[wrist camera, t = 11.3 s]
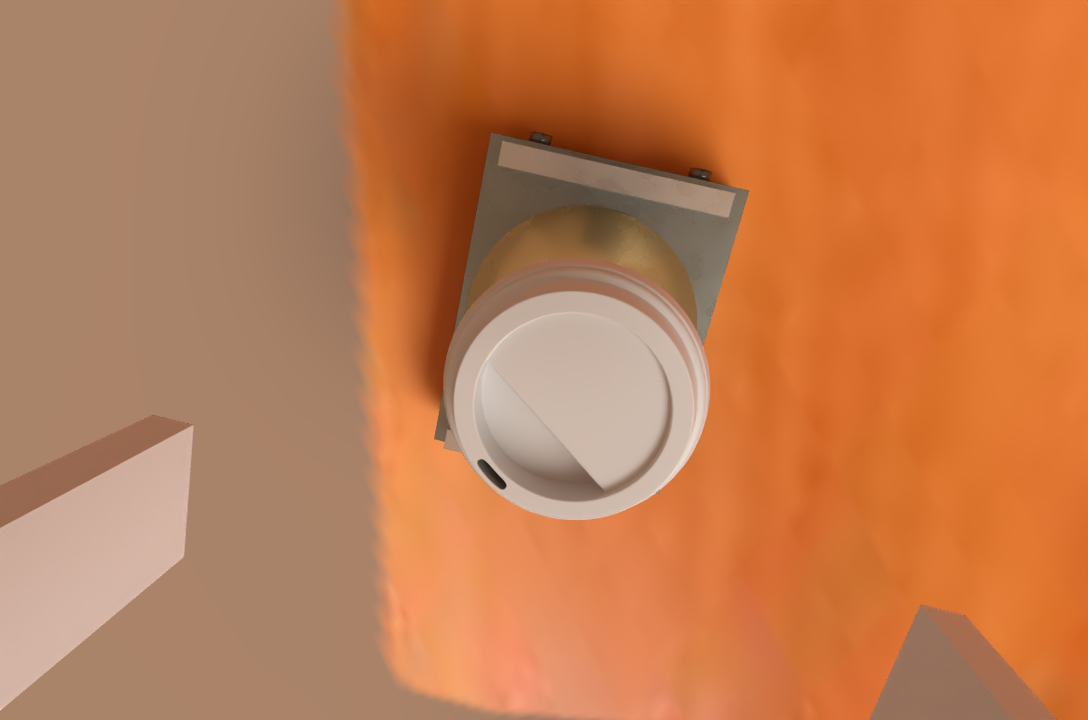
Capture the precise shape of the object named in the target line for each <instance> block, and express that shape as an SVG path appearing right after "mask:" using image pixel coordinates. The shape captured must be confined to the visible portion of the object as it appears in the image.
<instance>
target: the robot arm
mask: <svg viewBox="0 0 1088 720" xmlns="http://www.w3.org/2000/svg"><path fill="white" fill-rule="evenodd" d="M192 439H193V424H189V423H184V422H180V421H176V420H172V419H168V418H164V417H160V416H156V415H151V416H149V417H147V418H145V419H143V420H141V421H138V422H136V423H134V424H132V425H130V426H128V427H126V428H123V429H121V430H119V431H117V432H115V433H113V434H110V435H108V436H106V437H104V438H102V439H100V440H98V441H95V442H93V443H91V444H89V445H87V446H85V447H82V448H80V449H78V450H76V451H74V452H72V453H69V454H67V455H65V456H63V457H61V458H59V459H57V460H54V461H52V462H50V463H48V464H46V465H44V466H41V467H39V468H37V469H35V470H33V471H31V472H28V473H26V474H25V475H22V476H20V477H18V478H16V479H14V480H11V481H9V482H7V483H5V484H3V485H0V710H1V709H2V708H3V707H5V706H6V705H7V704H8V703H10V702H11V701H12V700H13V699H14V698H16V697H17V696H18V695H19V694H20V693H21V692H23V691H24V690H25V689H26V688H28V687H29V686H30V685H31V684H32V683H34V682H35V681H36V680H37V679H38V678H40V677H41V676H42V675H43V674H44V673H45V672H47V671H48V670H49V669H50V668H51V667H52V666H54V665H55V664H56V663H57V662H59V661H60V660H61V659H62V658H63V657H65V656H66V655H67V654H68V653H69V652H71V651H72V650H73V649H74V648H75V647H76V646H78V645H79V644H80V643H81V642H83V641H84V640H85V639H86V638H87V637H89V636H90V635H91V634H92V633H93V632H94V631H95V630H96V629H98V628H99V627H100V626H102V625H103V624H104V623H105V622H106V621H108V620H109V619H110V618H111V617H112V616H114V615H115V614H116V613H117V612H118V611H120V610H121V609H122V608H123V607H124V606H126V605H127V604H128V603H129V602H130V601H131V600H133V599H134V598H135V597H136V596H137V595H139V594H140V593H141V592H142V591H143V590H145V589H146V588H147V587H148V586H149V585H151V584H152V583H153V582H154V581H155V580H157V579H158V578H159V577H160V576H161V575H163V574H164V573H165V572H166V571H167V570H169V569H170V568H171V567H172V566H173V565H174V564H176V563H177V562H178V561H179V560H181V559H182V558H183V557H184V548H185V533H186V520H187V507H188V492H189V479H190V466H191V452H192ZM869 720H1057V719H1056V718H1055V717H1054V715H1053V714H1052V713H1051V712H1050V711H1049V710H1048V709H1047V708H1046V706H1045V705H1044V704H1043V703H1042V702H1041V701H1040V700H1039V699H1038V697H1037V696H1036V695H1035V694H1034V693H1033V692H1032V691H1031V689H1030V688H1029V687H1028V686H1027V685H1026V684H1025V683H1024V682H1023V680H1022V679H1021V678H1020V677H1019V676H1018V675H1017V674H1016V672H1015V671H1014V670H1013V669H1012V668H1011V667H1010V666H1009V665H1008V663H1007V662H1006V661H1005V660H1004V659H1003V658H1002V657H1001V656H1000V654H999V653H998V652H997V651H996V650H995V649H994V648H993V646H992V645H991V644H990V643H989V642H988V641H987V640H986V639H985V637H984V636H983V635H982V634H981V633H980V632H979V631H978V629H977V628H976V627H975V626H974V625H973V624H972V623H971V622H970V620H969V619H968V618H967V617H966V616H965V615H961V614H957V613H953V612H949V611H945V610H941V609H937V608H933V607H929V606H925V605H920V607H919V610H918V612H917V614H916V616H915V619H914V621H913V623H912V625H911V627H910V630H909V632H908V634H907V636H906V639H905V641H904V643H903V645H902V648H901V650H900V652H899V654H898V657H897V659H896V661H895V663H894V666H893V668H892V670H891V672H890V675H889V677H888V679H887V681H886V684H885V686H884V688H883V690H882V693H881V695H880V697H879V699H878V702H877V704H876V706H875V708H874V710H873V713H872V715H871V717H870V719H869Z"/></svg>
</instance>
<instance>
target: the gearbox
mask: <svg viewBox="0 0 1088 720" xmlns="http://www.w3.org/2000/svg"><path fill="white" fill-rule="evenodd" d="M551 140H552V136H550V135H546V134H543V133H538V132H531V135H530V140H529V141H526V140H522V139H517V138H513V137H509V136H504V135H500V134H495V133H491V135H490V141H489V146H488V152H487V157H486V162H485V168H484V173H483V178H482V184H481V189H480V195H479V200H478V205H477V211H476V216H475V222H474V227H473V232H472V238H471V243H470V249H469V254H468V259H467V265H466V270H465V276H464V281H463V286H462V292H461V297H460V303H459V308H458V313H457V319H456V324H455V330H454V333H455V331H456V329H457V327H458V325H459V323H460V321H461V320H462V318H463V317H464V315H465V314H466V312H467V311H468V309H469V308H470V307H471V306H472V304H473V303H474V302H475V301H476V300H477V299H478V298H479V297H480V296H481V295H482V294H483V293H484V292H485V291H486V290H487V289H489V288H490V287H491V286H492V285H494V284H495V283H496V282H498V281H499V280H501V279H502V278H504V277H506V276H507V275H509V274H511V273H513V272H515V271H517V270H519V269H522V268H524V267H527V266H529V265H532V264H535V263H539V262H543V261H547V260H553V259H560V258H589V259H597V260H602V261H607V262H611V263H615V264H618V265H621V266H624V267H626V268H629V269H631V270H633V271H635V272H637V273H639V274H641V275H643V276H645V277H646V278H648V279H650V280H651V281H653V282H654V283H656V284H657V285H658V286H660V287H661V288H662V289H663V290H665V291H666V292H667V293H668V294H669V295H670V296H671V297H672V298H673V299H674V300H675V301H676V302H677V303H678V304H679V305H680V307H681V308H682V309H683V310H684V312H685V313H686V314H687V316H688V317H689V319H690V320H691V322H692V324H693V325H694V327H695V329H696V331H697V333H698V335H699V337H700V340H701V342H702V345H703V344H704V341H705V338H706V334H707V331H708V328H709V324H710V321H711V317H712V314H713V311H714V307H715V304H716V301H717V297H718V294H719V290H720V287H721V284H722V280H723V277H724V274H725V270H726V267H727V264H728V260H729V257H730V253H731V250H732V247H733V243H734V240H735V237H736V233H737V230H738V227H739V223H740V220H741V216H742V213H743V210H744V206H745V203H746V200H747V196H748V193H749V190H744V189H740V188H735V187H731V186H726V185H722V184H718V183H713V182H710V178H711V175H712V172H710V171H707V170H703V169H698V168H690V171H689V175H688V177H686V176H682V175H678V174H673V173H669V172H664V171H660V170H655V169H651V168H646V167H642V166H637V165H633V164H629V163H624V162H620V161H615V160H611V159H606V158H602V157H597V156H593V155H589V154H584V153H580V152H575V151H571V150H566V149H562V148H557V147H553V146H550V145H551ZM434 439H436V440H440V441H444V442H445V445H444V448H445V449H449V450H453V451H457V452H461V451H460V449H459V447H458V445H457V443H456V441H455V439H454V437H453V434H452V432H451V429H450V426H449V423H448V419H447V415H446V410H445V404H444V392H443V394H442V400H441V405H440V411H439V416H438V421H437V427H436V432H435V438H434ZM461 453H462V452H461ZM656 493H657V494H659V493H660V490H659V491H658V492H656Z"/></svg>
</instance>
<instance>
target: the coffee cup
mask: <svg viewBox="0 0 1088 720" xmlns="http://www.w3.org/2000/svg"><path fill="white" fill-rule="evenodd" d="M443 392H444V404H445V410H446V415H447V419H448V423H449V426H450V429H451V432H452V434H453V437H454V439H455V441H456V443H457V445H458V447H459V449H460V451H461V452H462V454H463V456H464V457H465V459H466V460H467V462H468V463H469V464H470V466H471V467H472V468H473V469H474V471H475V472H476V473H477V474H478V475H479V476H480V477H481V478H482V479H483V480H484V481H485V482H486V483H487V484H488V485H489V486H490V487H491V488H493V489H494V490H495V491H496V492H497V493H499V494H500V495H501V496H503V497H504V498H505V499H507V500H509V501H510V502H512V503H514V504H515V505H517V506H519V507H521V508H523V509H526V510H528V511H531V512H533V513H536V514H539V515H543V516H547V517H551V518H557V519H566V520H586V519H595V518H600V517H605V516H609V515H612V514H616V513H618V512H621V511H624V510H626V509H628V508H630V507H632V506H634V505H637V504H639V503H640V502H642V501H644V500H646V499H647V498H649V497H651V496H652V495H653V494H655V493H656V492H658V491H659V490H660V489H661V488H663V487H664V486H665V485H666V484H667V483H668V482H669V481H670V480H672V479H673V478H674V476H675V475H676V474H677V473H678V472H679V471H680V470H681V469H682V467H683V466H684V465H685V463H686V462H687V460H688V459H689V457H690V456H691V454H692V452H693V451H694V449H695V447H696V445H697V443H698V441H699V438H700V436H701V433H702V430H703V427H704V424H705V420H706V417H707V412H708V407H709V399H710V375H709V368H708V362H707V358H706V354H705V351H704V347H703V345H702V342H701V340H700V337H699V335H698V333H697V331H696V329H695V327H694V325H693V324H692V322H691V320H690V319H689V317H688V316H687V314H686V313H685V312H684V310H683V309H682V308H681V307H680V305H679V304H678V303H677V302H676V301H675V300H674V299H673V298H672V297H671V296H670V295H669V294H668V293H667V292H666V291H665V290H663V289H662V288H661V287H660V286H658V285H657V284H656V283H654V282H653V281H651V280H650V279H648V278H646V277H645V276H643V275H641V274H639V273H637V272H635V271H633V270H631V269H629V268H626V267H624V266H621V265H618V264H615V263H611V262H607V261H602V260H597V259H589V258H560V259H553V260H547V261H543V262H539V263H535V264H532V265H529V266H527V267H524V268H522V269H519V270H517V271H515V272H513V273H511V274H509V275H507V276H506V277H504V278H502V279H501V280H499V281H498V282H496V283H495V284H494V285H492V286H491V287H490V288H489V289H487V290H486V291H485V292H484V293H483V294H482V295H481V296H480V297H479V298H478V299H477V300H476V301H475V302H474V303H473V304H472V306H471V307H470V308H469V309H468V311H467V312H466V314H465V315H464V317H463V318H462V320H461V321H460V323H459V325H458V327H457V329H456V331H455V333H454V335H453V337H452V340H451V343H450V346H449V349H448V352H447V356H446V361H445V367H444V378H443Z"/></svg>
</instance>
